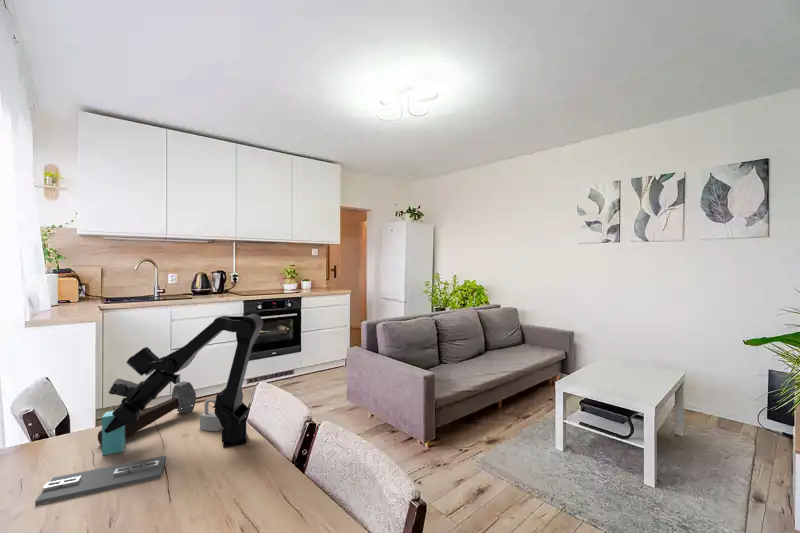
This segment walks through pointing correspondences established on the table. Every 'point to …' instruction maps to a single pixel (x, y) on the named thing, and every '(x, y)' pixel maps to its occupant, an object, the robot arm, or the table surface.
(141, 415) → the hammer
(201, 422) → the padlock
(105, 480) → the rubber mat
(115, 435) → the teal block
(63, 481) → the steel chain
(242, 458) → the table surface
